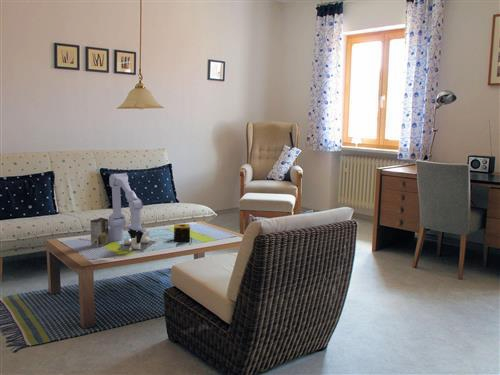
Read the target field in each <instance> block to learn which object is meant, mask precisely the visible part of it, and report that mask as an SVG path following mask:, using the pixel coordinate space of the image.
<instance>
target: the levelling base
mask: <svg viewBox="0 0 500 375" xmlns="http://www.w3.org/2000/svg"><path fill="white" fill-rule="evenodd" d="M123 240H124V241H123V243H124V244H123V245H121V246H120V247H118V248H117V249H116V250H118V251H127V252H128V251H129V252H141V253H142V252H145V250H147V249H148V248H149V247H151V246H152V245H154V244H155V243H156V242H157V240H150V239H149V242H148V243H140V249H132V244H131V238H125V239H123Z"/></svg>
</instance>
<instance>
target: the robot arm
mask: <svg viewBox="0 0 500 375" xmlns="http://www.w3.org/2000/svg"><path fill="white" fill-rule="evenodd" d="M108 178H109V187H111V192H112V193H111V195H112V196H111V197H112V198H111V200H112V213H111V214H110V215H108V232H109V244H110V243H113V242H119V241H123V240H124V228H125V227H126V230H127V232H128V234H129V237H130V239H131V238H136V241H137V243H140V241H141V238H142V235H143V233H144V232H147V231H146V228H144V227H142V219H141V218H142V217H141V216H142V214H141V213H142V211H141V210H142V209H143V207H144V206H143V205H144V204H143V201H142V199H140V198H138V196H137V195H136V193H135V191H134V190H132V189H131V187H130V184H129V175H128V174H127V173H126V172H123V173H114V174H113V173H111V174H110V175H109V177H108ZM121 188H122V190H123V191H124V193H125V195H124V196H125V198H126V200H127V202H128V209H129V213H130V224H128V225H127V219H126V215H125V214H124V213H123V212H122V200H121Z"/></svg>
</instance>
